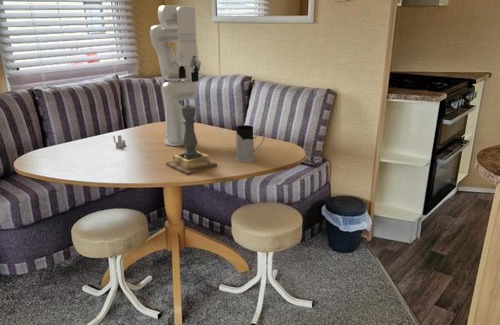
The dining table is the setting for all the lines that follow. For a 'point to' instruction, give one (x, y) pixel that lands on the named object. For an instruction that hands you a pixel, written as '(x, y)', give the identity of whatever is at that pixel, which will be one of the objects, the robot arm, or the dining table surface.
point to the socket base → (191, 163)
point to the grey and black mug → (245, 143)
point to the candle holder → (189, 132)
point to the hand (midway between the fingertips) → (188, 79)
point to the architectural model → (119, 142)
